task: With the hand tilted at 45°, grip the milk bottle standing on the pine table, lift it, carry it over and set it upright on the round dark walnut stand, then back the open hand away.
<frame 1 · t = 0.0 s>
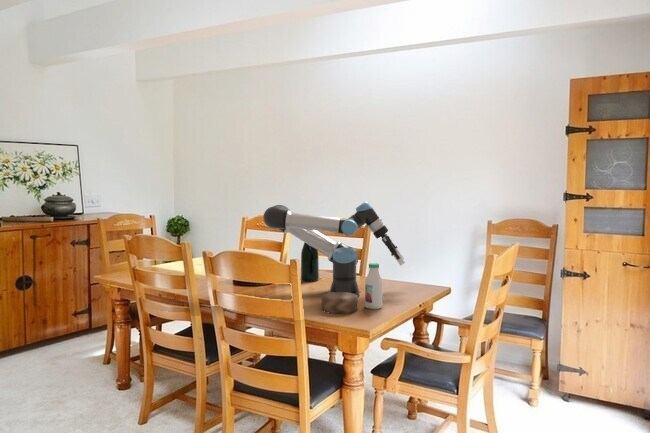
hand: (402, 262, 257), 15 cm above the table, tool tilted 35°, fingers open, 13 cm apart
milk bottle: (373, 307, 226), on the table
dark green wine bottle: (309, 280, 287), on the table
walnut stand: (339, 309, 222), on the table
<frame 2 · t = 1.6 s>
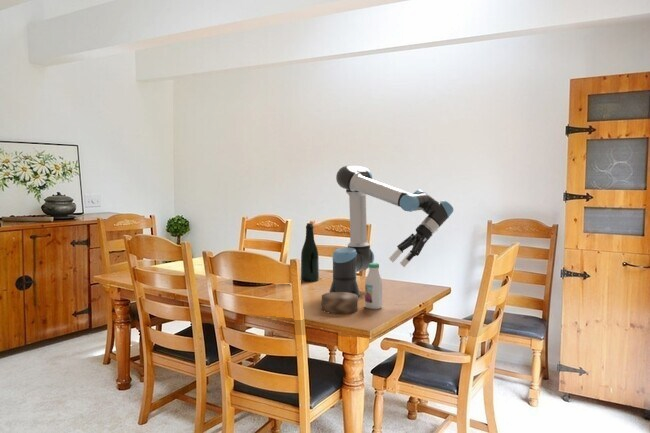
hand: (396, 262, 227), 20 cm above the table, tool tilted 45°, fingers open, 13 cm apart
nothing on the table moved.
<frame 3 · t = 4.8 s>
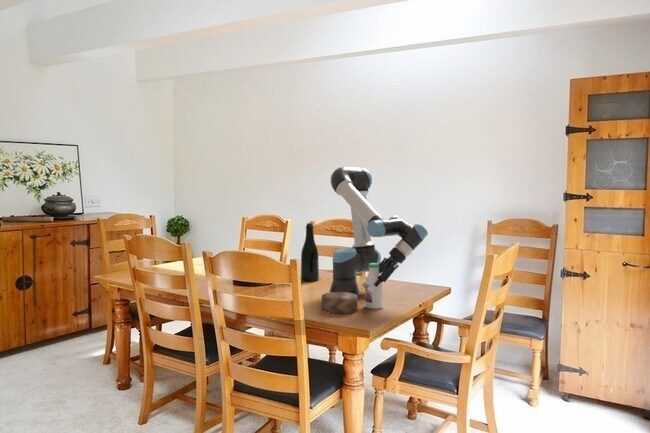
hand: (366, 288, 224), 9 cm above the table, tool tilted 45°, fingers closed on milk bottle, 7 cm apart
milk bottle: (373, 307, 226), on the table, touching gripper
everything else where it was.
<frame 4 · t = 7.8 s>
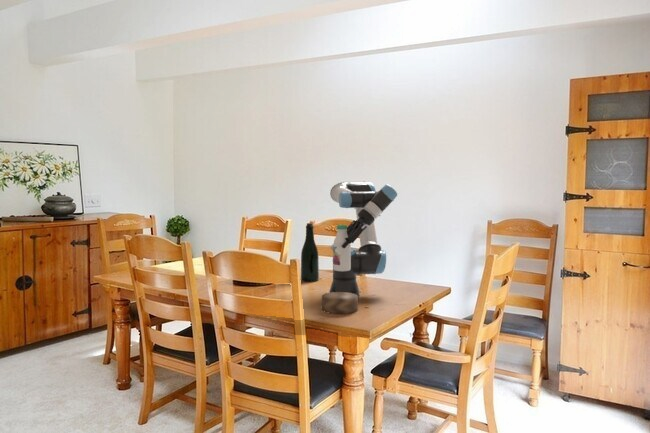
hand: (334, 251, 219), 26 cm above the table, tool tilted 45°, fingers closed on milk bottle, 7 cm apart
milk bottle: (341, 270, 220), point 18 cm above the table, touching gripper
everything else where it was.
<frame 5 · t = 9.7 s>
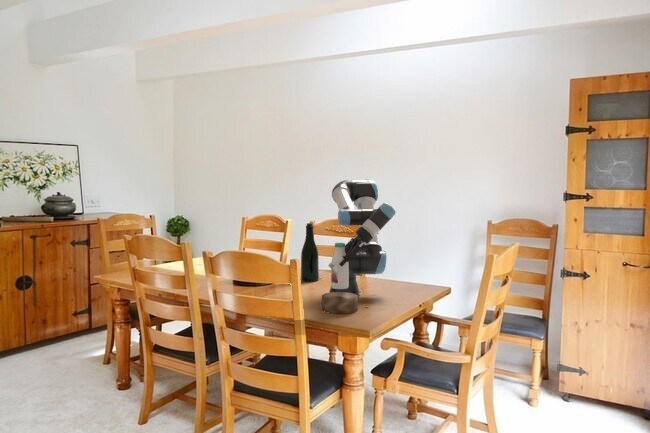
hand: (332, 269, 219), 18 cm above the table, tool tilted 45°, fingers closed on milk bottle, 7 cm apart
milk bottle: (340, 288, 221), point 10 cm above the table, touching gripper
everything else where it was.
when the fingers open (16 cm above the table, at t = 11.2 s): milk bottle drops 1 cm, resting on walnut stand.
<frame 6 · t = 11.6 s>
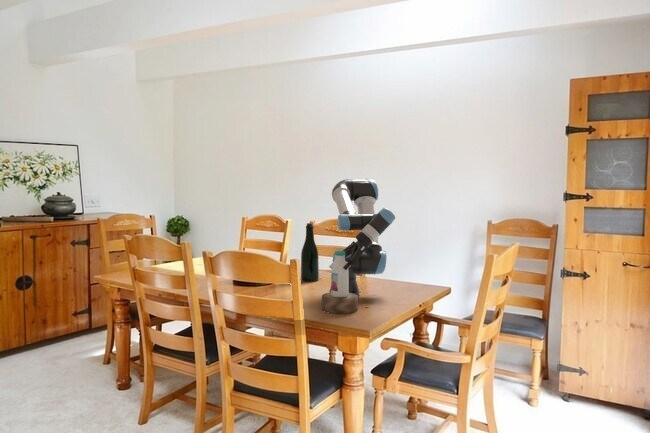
hand: (334, 271, 220), 17 cm above the table, tool tilted 45°, fingers open, 13 cm apart
milk bottle: (339, 296, 222), point 6 cm above the table, touching walnut stand
everything else where it was.
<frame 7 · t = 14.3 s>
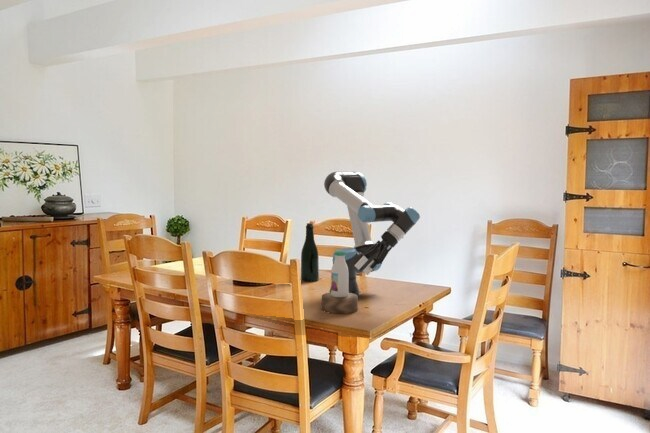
hand: (360, 270, 223), 17 cm above the table, tool tilted 45°, fingers open, 13 cm apart
nothing on the table moved.
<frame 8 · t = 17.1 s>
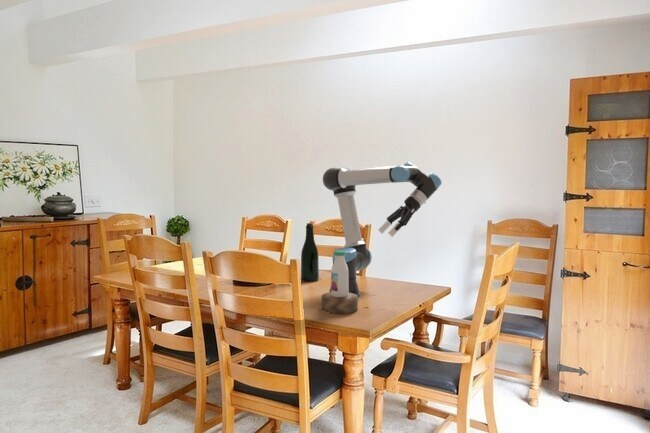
hand: (384, 233, 233), 33 cm above the table, tool tilted 45°, fingers open, 13 cm apart
nothing on the table moved.
at the end: milk bottle inside the target area on the walnut stand (0.1 cm from its centre), point 5.8 cm above the walnut stand's base; milk bottle tilted 0°; the gripper is holding nothing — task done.
